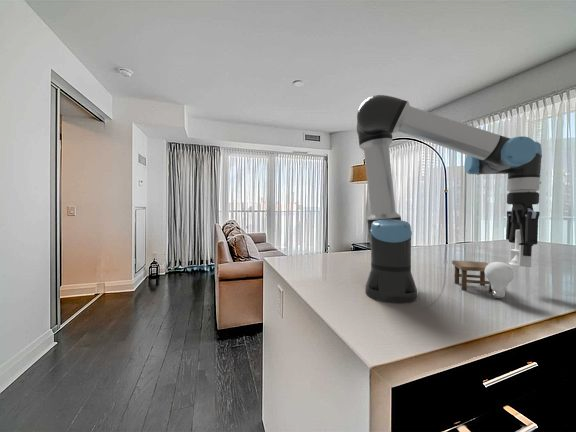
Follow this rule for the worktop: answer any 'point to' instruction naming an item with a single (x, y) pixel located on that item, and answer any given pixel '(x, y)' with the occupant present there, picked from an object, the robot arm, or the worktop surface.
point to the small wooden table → (466, 267)
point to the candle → (516, 249)
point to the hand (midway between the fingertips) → (519, 264)
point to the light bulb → (499, 278)
